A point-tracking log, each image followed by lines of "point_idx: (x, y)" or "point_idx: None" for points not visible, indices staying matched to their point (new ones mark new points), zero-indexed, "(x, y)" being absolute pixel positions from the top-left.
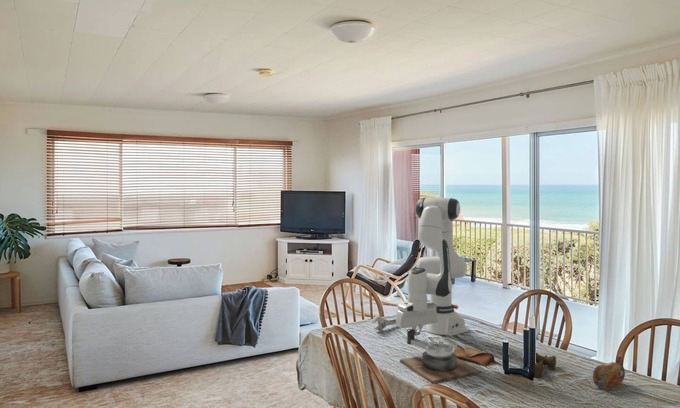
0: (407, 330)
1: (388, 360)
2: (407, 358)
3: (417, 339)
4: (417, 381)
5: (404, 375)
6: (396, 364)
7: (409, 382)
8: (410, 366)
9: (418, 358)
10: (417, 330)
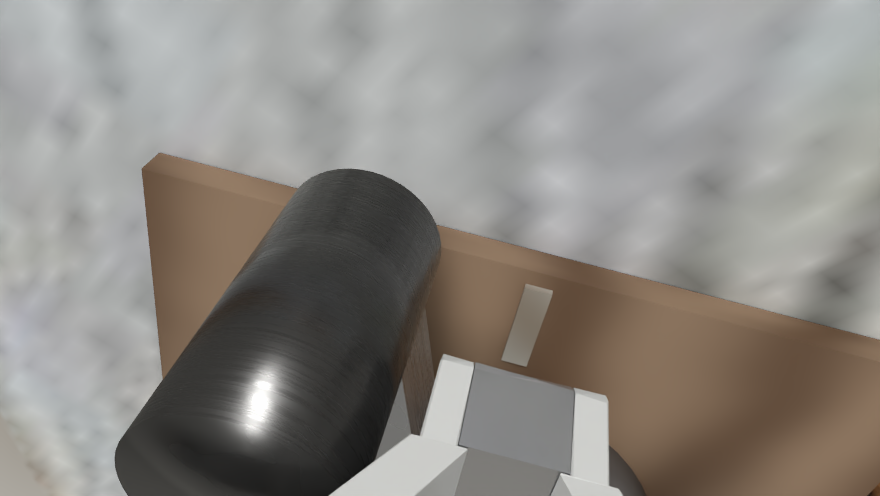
0: (119, 446)
1: (28, 8)
2: (265, 207)
3: (405, 435)
4: (107, 490)
5: (52, 385)
6: (83, 178)
7: (39, 465)
8: (163, 364)
9: None
10: (554, 489)
